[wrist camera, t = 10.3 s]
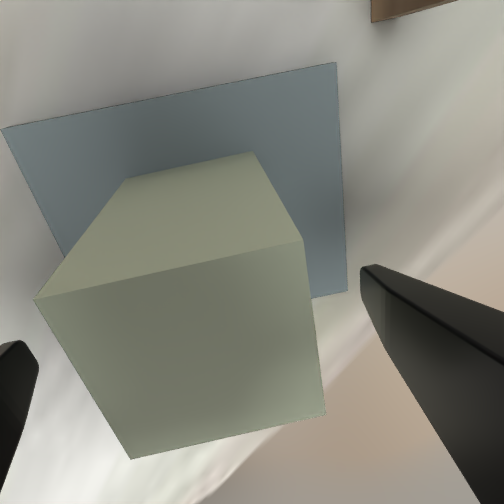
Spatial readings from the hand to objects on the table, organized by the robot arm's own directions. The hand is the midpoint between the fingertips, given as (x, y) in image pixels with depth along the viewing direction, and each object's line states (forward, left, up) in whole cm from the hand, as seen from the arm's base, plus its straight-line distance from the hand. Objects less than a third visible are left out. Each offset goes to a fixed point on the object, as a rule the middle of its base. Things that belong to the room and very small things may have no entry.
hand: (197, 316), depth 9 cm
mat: (0, 0, -7) cm, 7 cm away
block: (0, 0, -6) cm, 6 cm away
